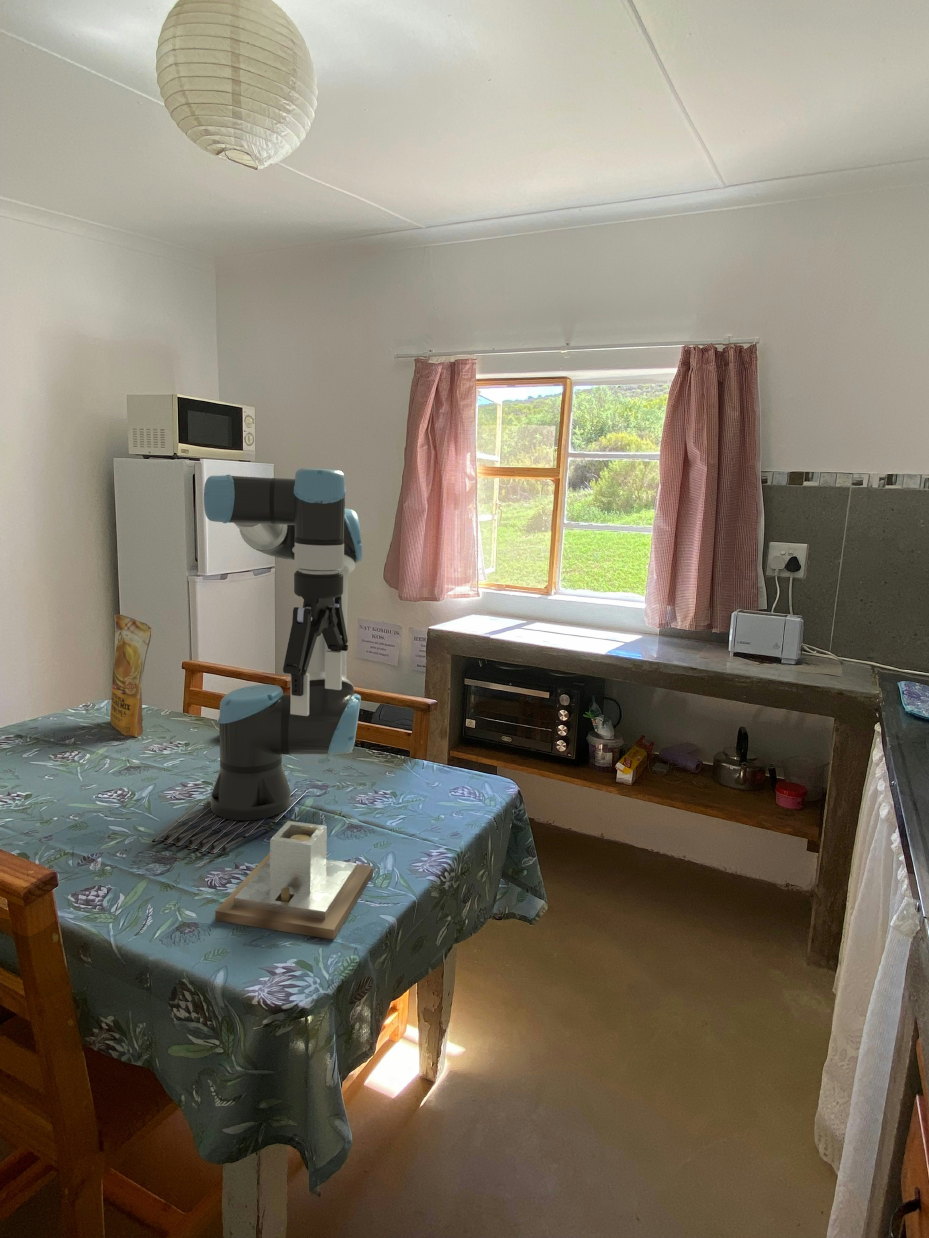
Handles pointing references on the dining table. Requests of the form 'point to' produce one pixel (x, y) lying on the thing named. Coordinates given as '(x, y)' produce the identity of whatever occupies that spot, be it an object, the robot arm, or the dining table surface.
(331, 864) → the flange
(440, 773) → the dining table surface
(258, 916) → the post board
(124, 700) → the pancake mix bag
